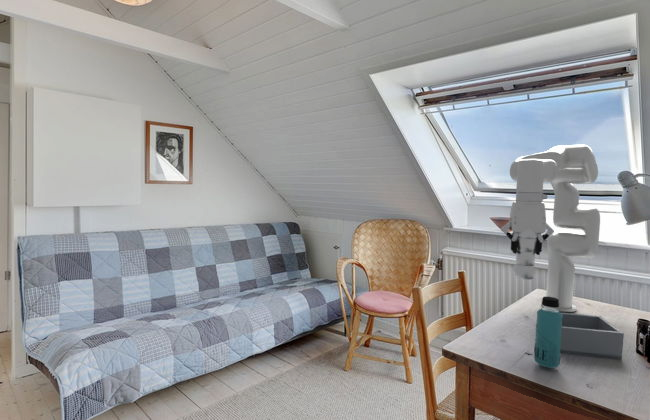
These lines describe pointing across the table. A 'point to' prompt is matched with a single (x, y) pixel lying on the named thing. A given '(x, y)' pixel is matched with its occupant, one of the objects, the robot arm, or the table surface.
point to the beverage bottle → (548, 334)
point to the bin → (590, 337)
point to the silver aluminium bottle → (526, 255)
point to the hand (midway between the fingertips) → (525, 252)
